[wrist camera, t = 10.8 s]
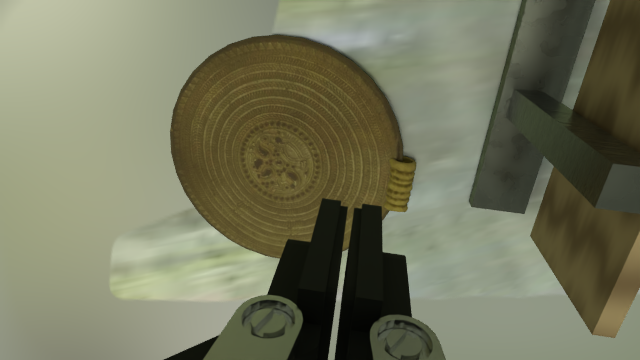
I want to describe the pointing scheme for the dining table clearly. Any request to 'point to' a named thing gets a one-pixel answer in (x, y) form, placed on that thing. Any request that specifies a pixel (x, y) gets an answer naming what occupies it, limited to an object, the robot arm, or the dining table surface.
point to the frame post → (549, 120)
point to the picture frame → (574, 209)
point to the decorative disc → (285, 141)
